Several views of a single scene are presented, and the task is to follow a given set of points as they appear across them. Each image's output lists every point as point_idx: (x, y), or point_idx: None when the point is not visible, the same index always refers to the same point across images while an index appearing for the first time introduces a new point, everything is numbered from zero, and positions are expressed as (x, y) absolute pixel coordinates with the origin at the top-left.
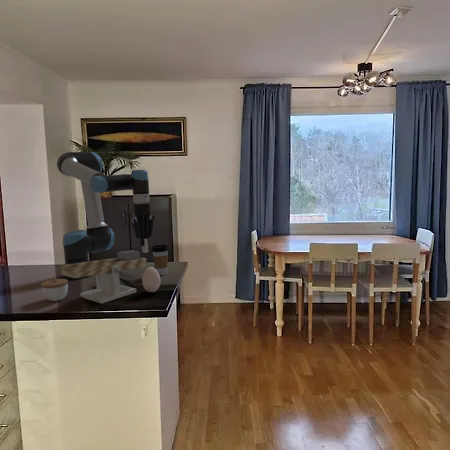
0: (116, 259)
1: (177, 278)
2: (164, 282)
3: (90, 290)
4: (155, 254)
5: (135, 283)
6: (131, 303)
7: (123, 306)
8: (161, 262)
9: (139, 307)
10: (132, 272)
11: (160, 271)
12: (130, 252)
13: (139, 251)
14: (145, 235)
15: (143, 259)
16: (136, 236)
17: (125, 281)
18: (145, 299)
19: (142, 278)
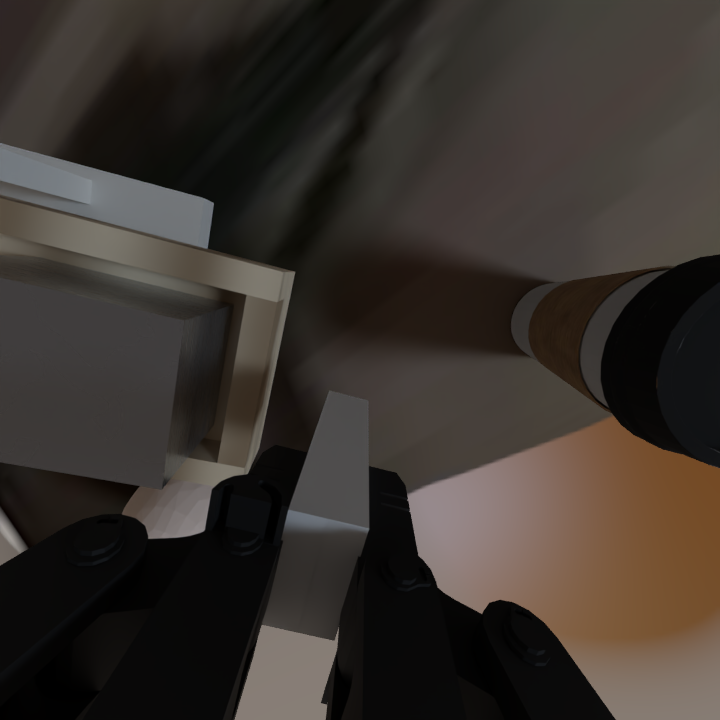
0: (6, 232)
1: (473, 465)
2: (384, 440)
3: (16, 148)
4: (594, 344)
5: (312, 290)
6: (55, 476)
7: (10, 467)
8: (557, 373)
9: (40, 533)
10: (548, 67)
11: (522, 344)
12: (6, 446)
13: (160, 483)
14: (394, 643)
15: (206, 479)
16: (22, 569)
17: (326, 191)
18: (125, 501)
19: (133, 494)
